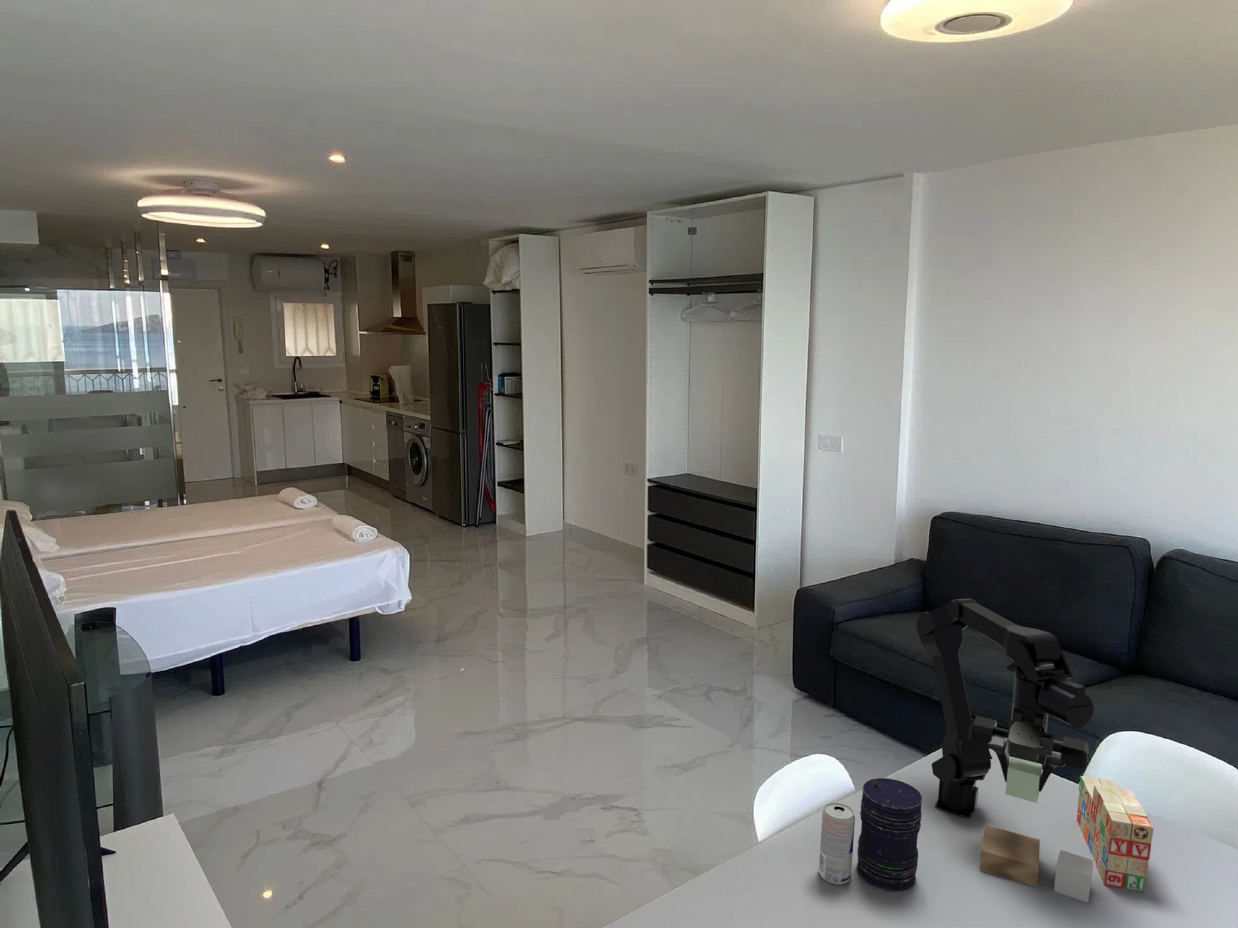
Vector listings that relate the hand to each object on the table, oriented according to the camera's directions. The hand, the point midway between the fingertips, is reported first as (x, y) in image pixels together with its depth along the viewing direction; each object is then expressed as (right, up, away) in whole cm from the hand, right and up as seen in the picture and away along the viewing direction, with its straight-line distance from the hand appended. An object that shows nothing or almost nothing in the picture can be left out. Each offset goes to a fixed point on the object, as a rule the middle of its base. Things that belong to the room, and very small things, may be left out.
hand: (1023, 785), depth 145 cm
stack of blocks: (+17, -14, +3) cm, 22 cm away
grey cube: (+5, -15, -8) cm, 17 cm away
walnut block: (-3, -14, -1) cm, 14 cm away
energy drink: (-35, -13, -6) cm, 38 cm away
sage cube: (0, -1, 0) cm, 1 cm away
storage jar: (-26, -13, -5) cm, 30 cm away
